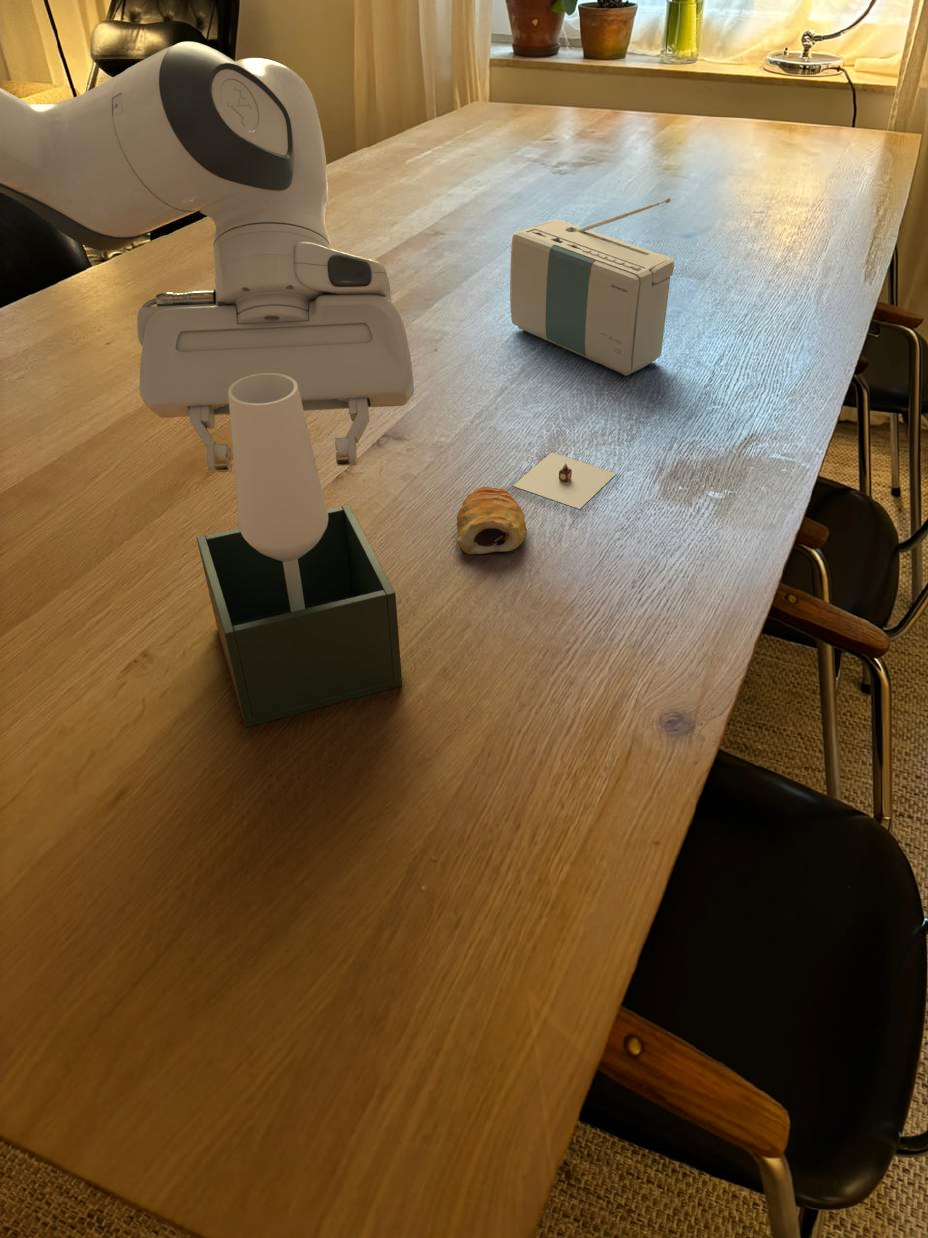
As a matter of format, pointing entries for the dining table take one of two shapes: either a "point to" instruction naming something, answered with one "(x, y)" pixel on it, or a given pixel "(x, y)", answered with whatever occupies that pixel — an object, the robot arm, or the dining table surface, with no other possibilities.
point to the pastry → (490, 522)
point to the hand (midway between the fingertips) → (283, 467)
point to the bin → (303, 621)
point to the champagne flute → (276, 473)
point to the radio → (590, 292)
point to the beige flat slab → (565, 480)
